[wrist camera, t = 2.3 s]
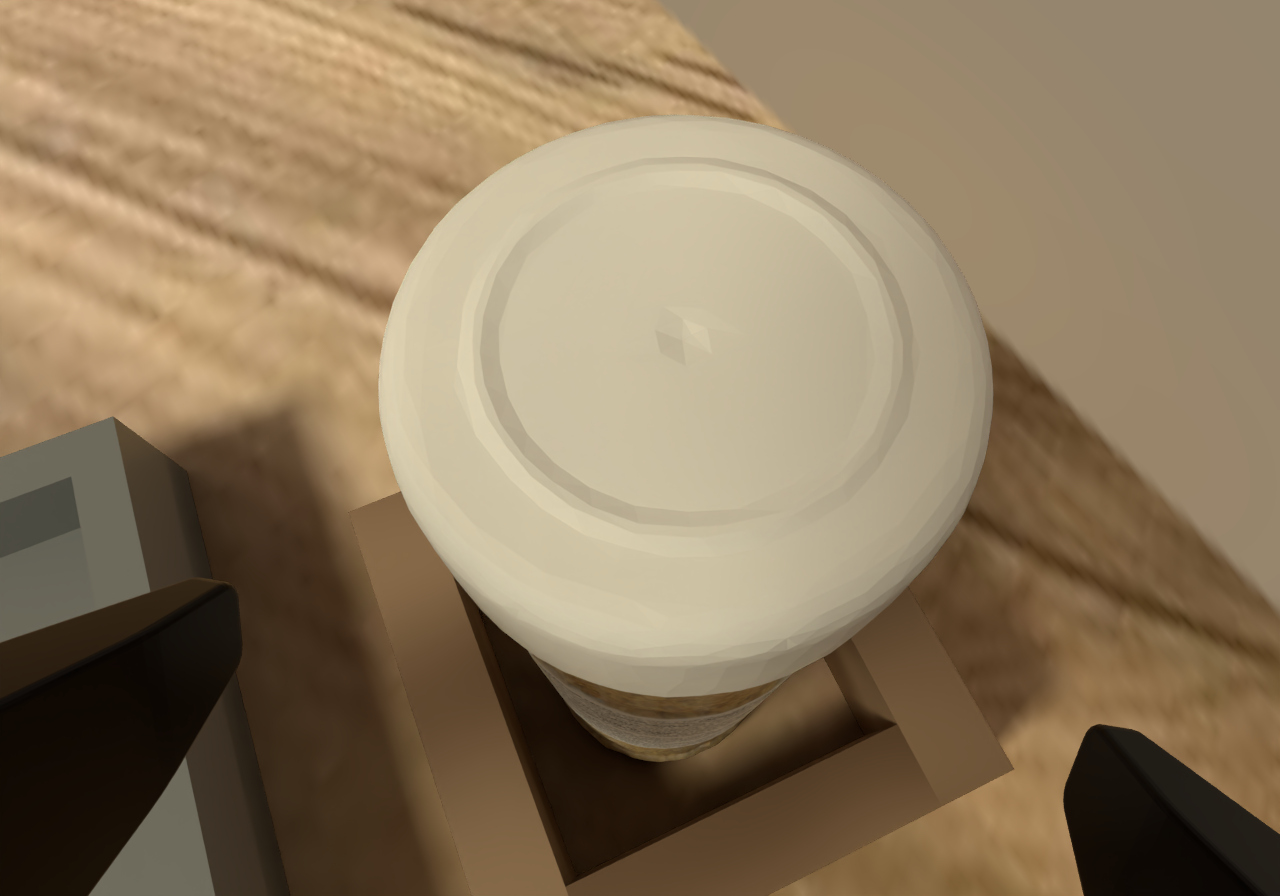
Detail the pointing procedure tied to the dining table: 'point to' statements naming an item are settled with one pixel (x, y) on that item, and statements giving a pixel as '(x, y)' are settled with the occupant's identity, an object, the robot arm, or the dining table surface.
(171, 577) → the tray
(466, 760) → the holder collar
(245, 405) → the dining table surface
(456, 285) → the sprinkles bottle
